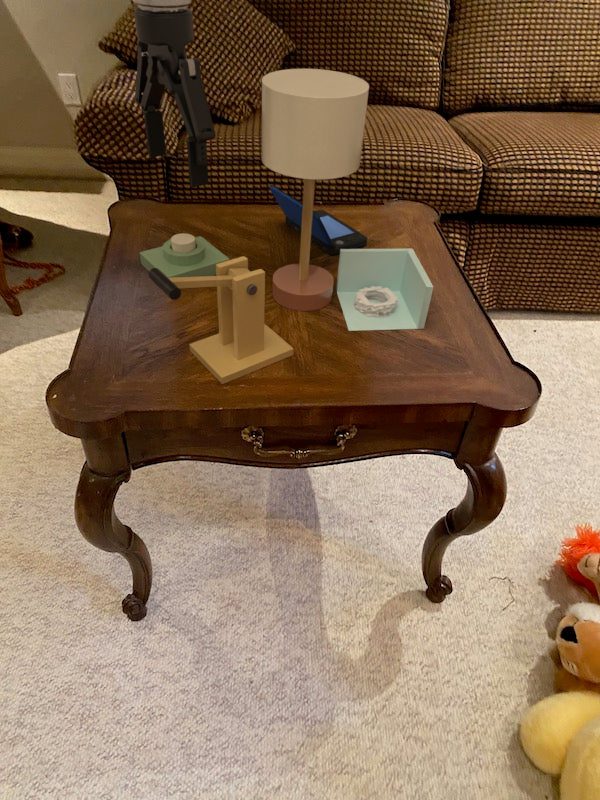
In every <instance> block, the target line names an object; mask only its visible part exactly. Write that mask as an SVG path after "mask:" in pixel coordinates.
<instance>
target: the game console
mask: <svg viewBox="0 0 600 800" xmlns="http://www.w3.org/2000/svg"><path fill="white" fill-rule="evenodd" d="M269 190H270V191H271V193H272V195H273V197H274V199H275V201H276V202H277V204H278V206H279V207H280V210H281V211H282V212H283V215H284V216H285V221H284V222H285V225H286V226H288V227H289V228H292V229H293V230H294V231H295V232H297V233H298V234H300V235H301V224H302V206H303V202H301V201H299V200H298V199H296V198H294V197H292V196H291V195H289V194H288V193H286V192H285V191H283V190H281V189H280V188H278V187H277V186H275V185H274V184H270V185H269ZM368 239H369V238H368V237H367V236H366V235H365V234H363V233H361V232H359V231H358V230H357V229H355V228H353V227H352V226H350V225H349V224H347V223H345V222H344V221H342V220H340V219H339V218H337V217H336V216H334V215H333V214H332V213H331V214H330V213H329V212H328V211H326V210H324V209H317V210H313V217H312V231H311V243H313V244H314V245H316V246H317V247H319V248H320V249H322V250H323V251H325V253H327V254H328V255H330V256H334V255H336V254H338V253H340V249H357V248H359V247H363V246H365V245H367V244H368V241H369V240H368Z"/></svg>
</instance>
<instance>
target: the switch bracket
mask: <svg viewBox="0 0 600 800" xmlns="http://www.w3.org/2000/svg"><path fill="white" fill-rule="evenodd" d="M232 268H247V269H248V270H249V258H248V257H246V256H245V255H242V256H239V257H235V258H233V259H230V260H229V261H225V262H222V263H219V264H216V275H215V276H228V272H229V269H232ZM216 297H217V317H218V319H217V320H218V333H217V334H213V335H210V336H207V337H205V338H202V339H199V340H196V341H194V342H192V343H189V344H188V345H189V351H190V353H191V354H192V355H193V356H194V357H195V358H196V359H197V360H198V361H199V362H200V363H201V364H202V366H204V367H205V368H206V369H207V370H208V371H209V372H210V374H211V375H213V377H214V378H216V380H217V381H218V382H219V383H220V384H221V385H224V384H227V383H229V382H232V381H234V380H236V379H239V378H242V377H244V376H246V375H249V374H251V373H253V372H256V371H258V370H260V369H264V368H266V367H268V366H270V365H273V364H276V363H277V362H280V361H282V360H285V359H287V358H290V357H292V356H294V352H295V351H294V349H295V348H294V347H292V346H291V345H290V344H289V343H288V342H286V341H285V340H284V338H282V337H281V336H280V335H278V334H277V333H276V332H275V331H274V330H273V329H272V328H270V327H269V326H268V325H267V324H266V323H265V312H266V311H265V309H266V308H265V307H266V306H265V302H266V301H265V300H266V271H264V270H263V269H262V268H259V269H258V268H257V269H255V270H252V271H251V272H249V273H245V274H242V275H239V276H236V277H233V278H232V290H231V289H230V288H228V287H227V286H218V287H216Z"/></svg>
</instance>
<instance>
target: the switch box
mask: <svg viewBox="0 0 600 800" xmlns="http://www.w3.org/2000/svg"><path fill="white" fill-rule="evenodd" d="M194 237H195V245H196V249H195V250H194V251H191V252H188V253H179V252H175V251H173V250H172V245H171V238H170V239H168V240H167V241H165V242H164V243H162V246H158V247H155V248H151V249H147V250H144V251H139V259H140V264H141V266H143V267H144V269H146V270H147V271H148V272H149V271H150V270H151V269H152V268H158V269H159V270H160V271H161V272H162V273H163V274H164V275H166V276H167V277H168V278H176V277H202V276H216V264H219V263H222V262H225V261H229V260H231V259H230V258H229V257H228V256H226V254H224V253H222V252H221V251H220V250H219V249H218V248H217V247H215V246H214V245H213V244H211V243H210V241H208V240H206V239H205V238H204V237H202V236H201V235H199V236H194Z"/></svg>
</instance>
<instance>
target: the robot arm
mask: <svg viewBox="0 0 600 800" xmlns="http://www.w3.org/2000/svg"><path fill="white" fill-rule="evenodd" d="M131 1H132V2H133V3H134V4H135V5H137V6H136V7H135V9H134V10H133V13H134V23H135V32H136V37H137V40H136V46H137V48H136V49H137V63H136V64H137V65H136V76H135V77H136V80H135V90H134V101H135V104H138V105H140V109H141V111H142V112H143V119H144V120H143V121H144V128H145V135H146V136H145V137H146V145H147V152H148V157H149V158H151V159H152V158H156V157H163V156H166V155H167V150H166V149H167V147H166V139H165V138H166V137H165V129H164V117H163V112H162V111H161V110H162V109H164V107H163V105H162V103H161V102H162V100H163V99H162V98H163V96H164V93H165V89H166V88H167V91H168V93H169V94H170V95H172V96H173V97H174V101H175V102H176V106H177V108H178V111H179V113H180V116H181V119H182V122H183V124H184V127H185V129H186V132H187V135H188V137H187V138H186V139H185V143H186V151H187V166H188V177H189V178H188V179H189V186H190V187H191V188H193V189H194V188H197V187H203V186H206V185H209V182H210V181H209V166H208V165H209V164H208V148H207V147H208V146H207V141H209V140H214V139H216V135H217V134H216V130H215V128H214V122H213V118H212V115H211V111H210V106H209V103H208V99H207V95H206V92H205V87H204V82H203V80H202V73H201V72H202V71H201V63H200V60H199V58H198V57H192V58H191V57H190V58H188V57H187V52H186V46H187V45H188V44H190V43H192V42H193V41H194V40H195V39H194V38H195V32H194V17H193V16H194V15H193V14H194V13H193V11H192V10H191V9H190V7H188V6H189V5H191V3H192V0H131Z"/></svg>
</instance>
